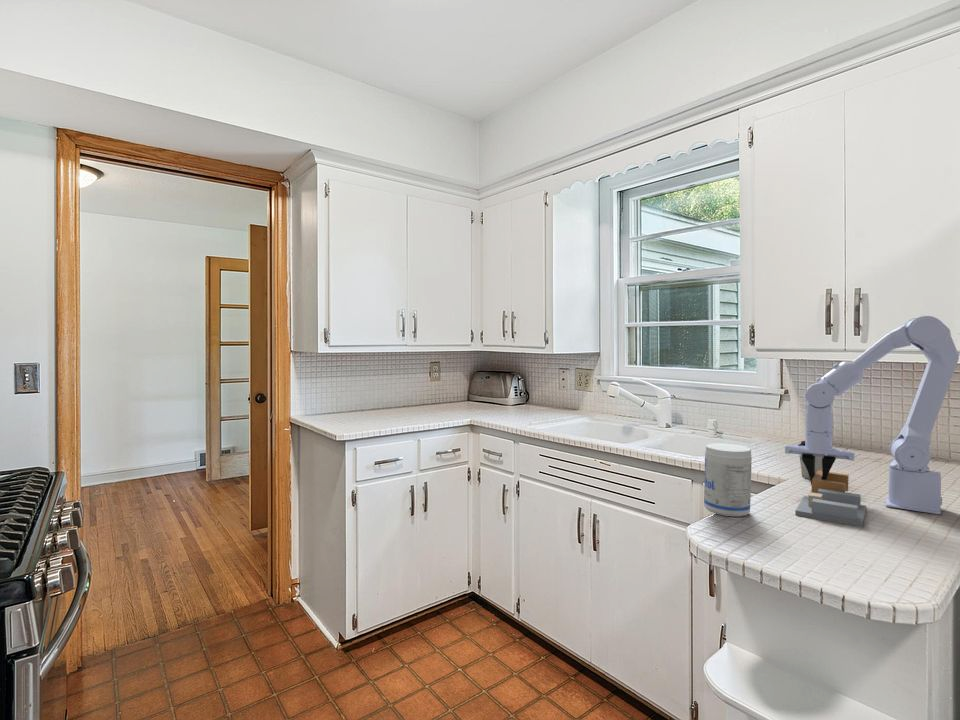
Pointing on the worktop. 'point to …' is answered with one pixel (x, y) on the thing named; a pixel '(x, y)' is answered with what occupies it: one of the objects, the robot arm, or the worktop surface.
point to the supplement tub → (727, 479)
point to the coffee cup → (817, 464)
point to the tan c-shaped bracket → (830, 482)
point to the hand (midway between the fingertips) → (818, 485)
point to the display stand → (833, 507)
